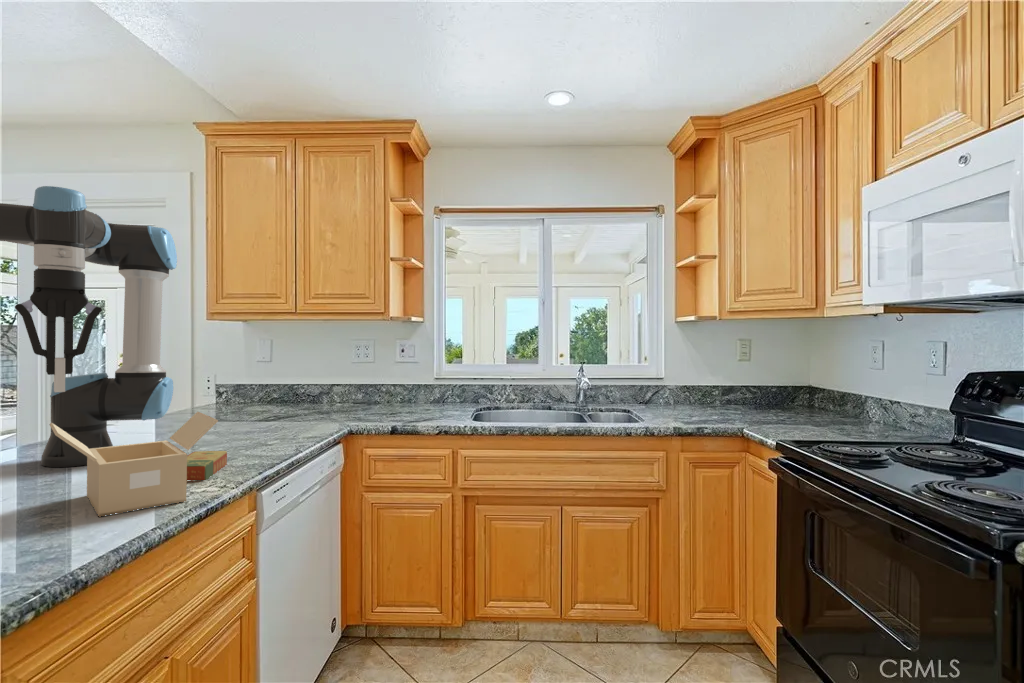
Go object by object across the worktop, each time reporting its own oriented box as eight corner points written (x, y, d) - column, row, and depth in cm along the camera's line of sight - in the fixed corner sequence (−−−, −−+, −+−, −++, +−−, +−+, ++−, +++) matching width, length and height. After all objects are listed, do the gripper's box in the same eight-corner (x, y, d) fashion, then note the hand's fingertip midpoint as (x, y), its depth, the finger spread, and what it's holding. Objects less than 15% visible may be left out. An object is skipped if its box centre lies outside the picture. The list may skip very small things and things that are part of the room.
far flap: (197, 411, 125) (199, 412, 125) (169, 438, 121) (171, 439, 121) (216, 419, 114) (218, 420, 114) (186, 448, 110) (188, 450, 110)
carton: (227, 466, 140) (227, 450, 140) (205, 482, 125) (206, 464, 125) (193, 466, 139) (193, 450, 139) (166, 483, 123) (167, 465, 123)
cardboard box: (86, 495, 112) (87, 448, 112) (166, 483, 122) (166, 440, 122) (98, 517, 99) (99, 464, 99) (186, 501, 109) (187, 454, 109)
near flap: (87, 446, 110) (84, 448, 110) (51, 422, 106) (49, 424, 106) (96, 459, 100) (94, 461, 100) (58, 433, 96) (55, 435, 96)
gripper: (14, 264, 94) (13, 395, 95) (105, 271, 103) (104, 391, 104) (12, 267, 99) (12, 391, 100) (99, 273, 108) (99, 387, 109)
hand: (59, 391), depth 102 cm, fingers closed
